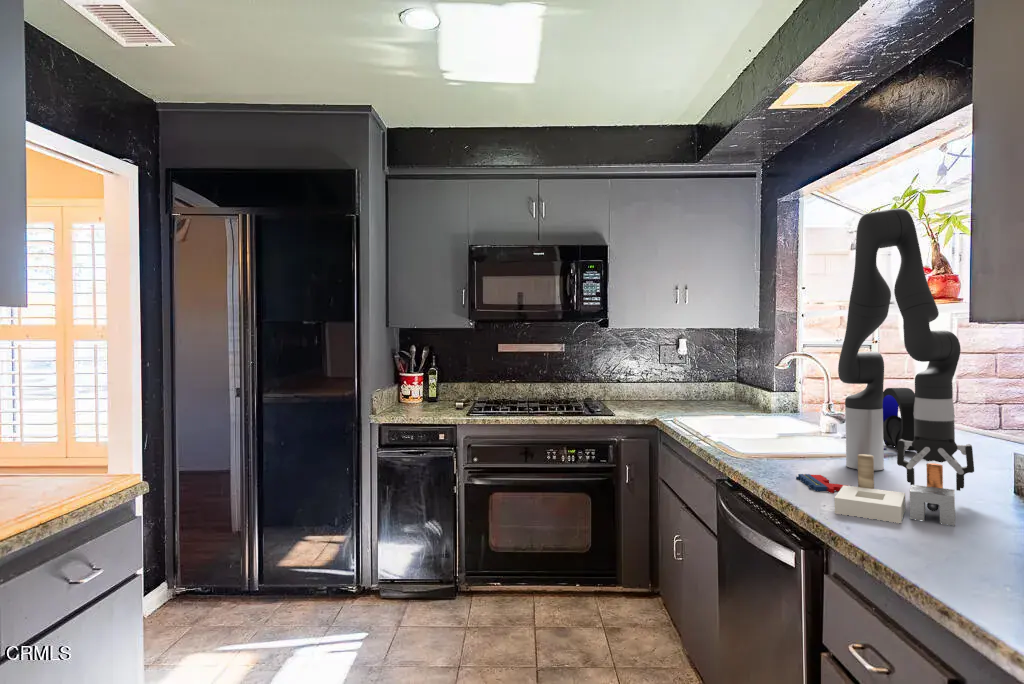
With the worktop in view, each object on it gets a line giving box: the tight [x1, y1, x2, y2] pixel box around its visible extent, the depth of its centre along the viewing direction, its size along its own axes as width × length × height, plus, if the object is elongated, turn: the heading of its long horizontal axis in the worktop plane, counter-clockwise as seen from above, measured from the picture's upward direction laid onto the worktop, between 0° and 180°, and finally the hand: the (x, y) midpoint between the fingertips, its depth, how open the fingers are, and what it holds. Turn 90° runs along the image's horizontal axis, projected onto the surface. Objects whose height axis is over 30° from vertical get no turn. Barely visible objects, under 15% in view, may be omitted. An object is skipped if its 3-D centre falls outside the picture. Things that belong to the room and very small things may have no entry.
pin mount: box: [909, 484, 956, 527], centre depth 120 cm, size 7×6×6 cm
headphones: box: [883, 387, 916, 452], centre depth 186 cm, size 18×7×20 cm, turn 167°
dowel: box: [857, 454, 875, 489], centre depth 136 cm, size 3×3×10 cm
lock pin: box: [926, 462, 944, 512], centre depth 127 cm, size 3×16×8 cm, turn 142°
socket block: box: [834, 484, 906, 524], centre depth 126 cm, size 12×12×4 cm
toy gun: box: [795, 473, 849, 494], centre depth 147 cm, size 15×2×10 cm
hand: (934, 487), depth 132 cm, fingers open, 8 cm apart
